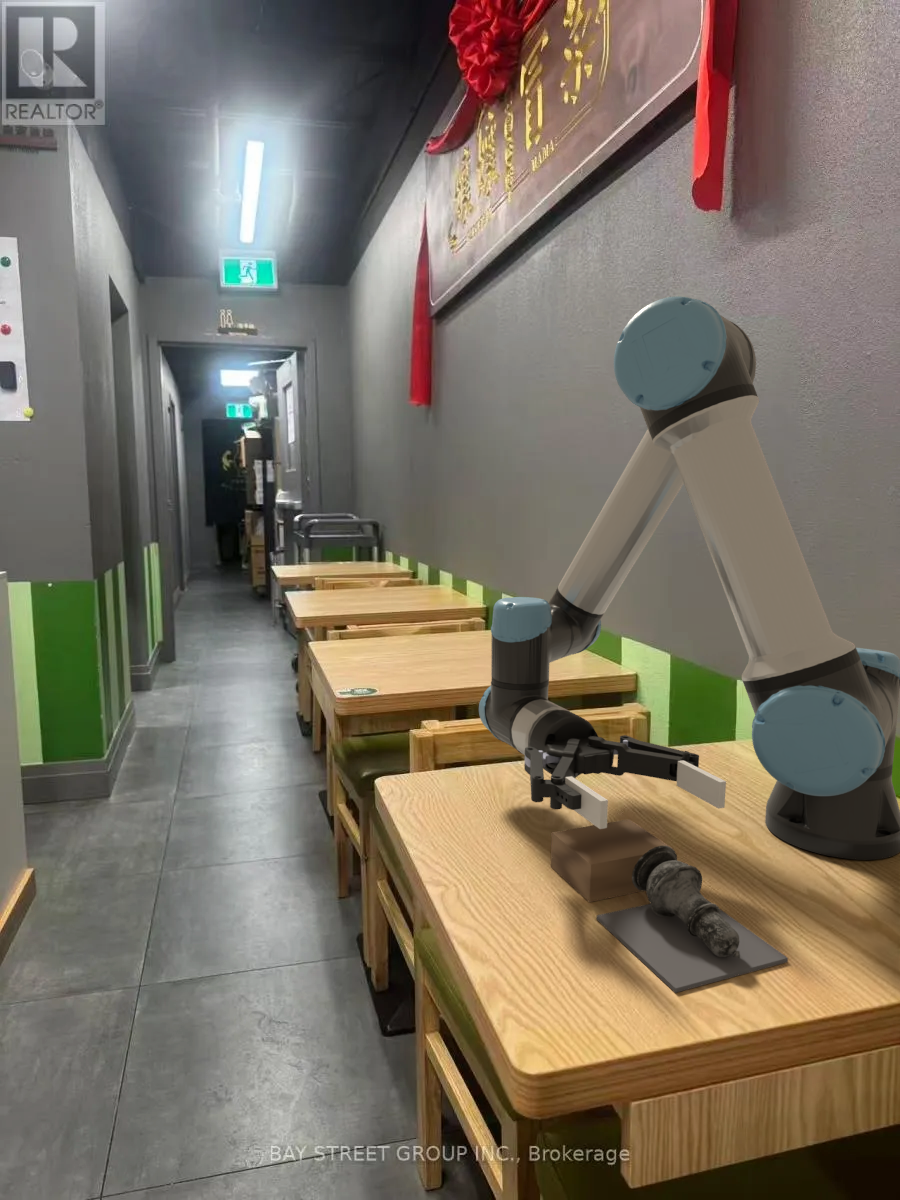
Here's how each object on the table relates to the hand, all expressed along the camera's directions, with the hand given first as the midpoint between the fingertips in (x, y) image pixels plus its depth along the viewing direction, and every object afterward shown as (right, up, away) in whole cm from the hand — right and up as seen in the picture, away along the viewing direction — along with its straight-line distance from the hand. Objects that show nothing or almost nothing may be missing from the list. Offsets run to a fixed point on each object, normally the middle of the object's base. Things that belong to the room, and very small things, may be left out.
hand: (665, 804), depth 75 cm
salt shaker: (0, -7, +3) cm, 7 cm away
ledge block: (-3, -10, +10) cm, 14 cm away
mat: (+1, -12, -2) cm, 12 cm away
